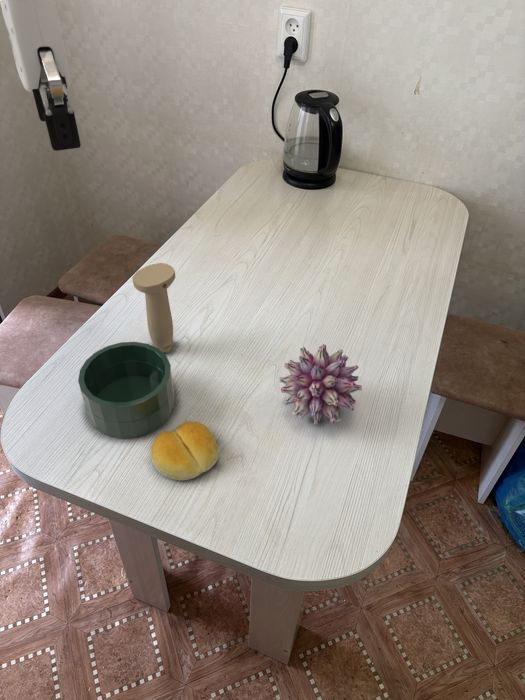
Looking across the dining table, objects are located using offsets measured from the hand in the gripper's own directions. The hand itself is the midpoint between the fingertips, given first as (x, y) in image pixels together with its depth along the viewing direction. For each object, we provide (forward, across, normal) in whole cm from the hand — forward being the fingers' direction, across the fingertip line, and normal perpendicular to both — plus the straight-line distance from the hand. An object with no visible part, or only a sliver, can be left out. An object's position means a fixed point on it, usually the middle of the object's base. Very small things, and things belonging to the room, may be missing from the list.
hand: (59, 133), depth 62 cm
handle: (+34, +6, +8) cm, 36 cm away
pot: (+34, +16, 0) cm, 38 cm away
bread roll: (+34, +28, +4) cm, 45 cm away
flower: (+34, +28, +25) cm, 51 cm away
